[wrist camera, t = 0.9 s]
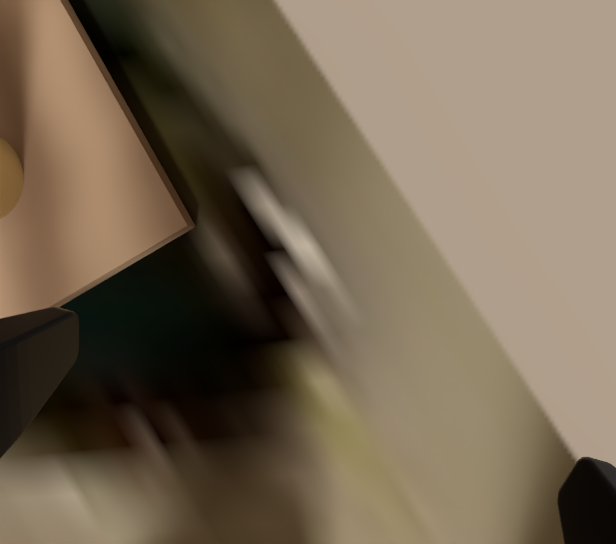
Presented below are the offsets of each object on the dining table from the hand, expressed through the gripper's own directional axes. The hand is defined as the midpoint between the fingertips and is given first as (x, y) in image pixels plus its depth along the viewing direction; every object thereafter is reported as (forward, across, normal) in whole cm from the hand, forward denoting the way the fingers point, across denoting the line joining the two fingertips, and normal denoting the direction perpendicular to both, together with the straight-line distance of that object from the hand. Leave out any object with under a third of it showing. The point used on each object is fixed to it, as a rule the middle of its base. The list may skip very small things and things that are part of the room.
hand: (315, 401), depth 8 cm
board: (+12, +22, +7) cm, 26 cm away
